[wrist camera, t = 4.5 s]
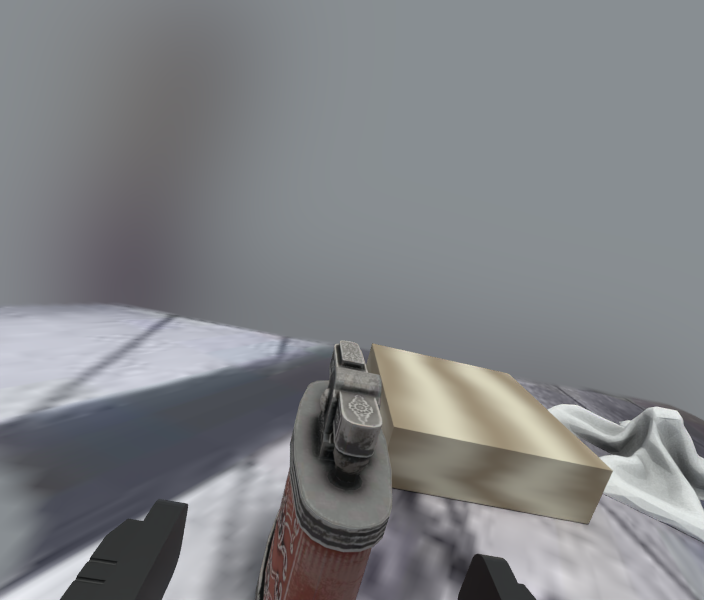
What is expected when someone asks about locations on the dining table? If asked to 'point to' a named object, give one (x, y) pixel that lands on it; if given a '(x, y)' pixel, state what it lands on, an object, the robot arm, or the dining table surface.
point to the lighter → (331, 488)
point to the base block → (481, 439)
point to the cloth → (647, 463)
